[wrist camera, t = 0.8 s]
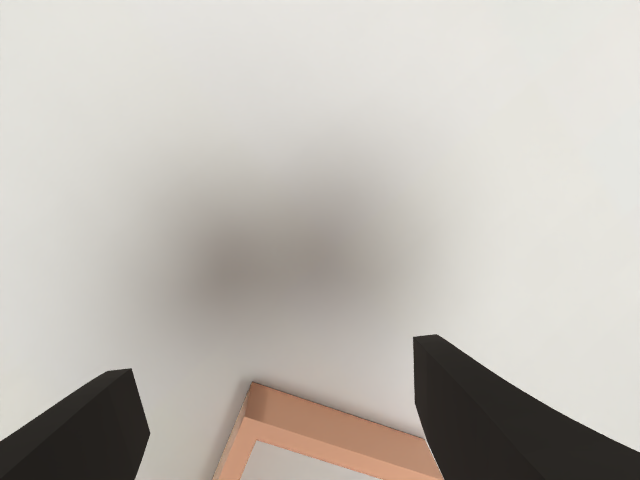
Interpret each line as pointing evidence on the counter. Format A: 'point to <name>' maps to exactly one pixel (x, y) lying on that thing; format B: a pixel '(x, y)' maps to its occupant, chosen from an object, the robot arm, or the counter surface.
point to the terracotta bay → (323, 438)
